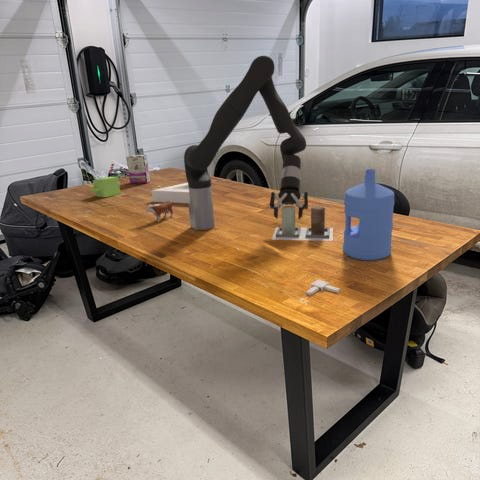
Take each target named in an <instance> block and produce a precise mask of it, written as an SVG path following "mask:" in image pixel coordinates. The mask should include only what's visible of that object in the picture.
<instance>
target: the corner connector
mask: <svg viewBox="0 0 480 480" xmlns="http://www.w3.org/2000/svg"><path fill="white" fill-rule="evenodd" d="M324 290H325V291H327V292H328V291H329V292H330V293H331V292H332V293H336V294H339V293H340V292H341V291H340V288H339V287H335V286H332V285H330V282H328V281H324V280H321V279H316V280H315V281H313V282H312V283H311V284H310V289H308V290H306V295H308V296H312V295H315V294H316V293H318V291H322V292H323V291H324Z"/></svg>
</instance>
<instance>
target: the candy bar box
mask: <svg viewBox="0 0 480 480" xmlns="http://www.w3.org/2000/svg"><path fill="white" fill-rule="evenodd" d="M126 164H127V171H128V176H129V177H128V178H129V184H131V185H132V184H133V185H134V184H135V185H137V184H139V185H140V184H148V183H150V182H151V179H150V172H149V171H150V170H149V163H148V156H147V154H133V155H130V154H129V155H127V156H126Z"/></svg>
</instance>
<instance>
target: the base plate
mask: <svg viewBox="0 0 480 480" xmlns="http://www.w3.org/2000/svg"><path fill="white" fill-rule="evenodd" d="M333 239H334V227H325V234H324V235H314V234H311V226H310V227H309V226H307V227H303V226H302V227H301V226H300V227H299V226H295V234H282V226H276V228H275V230H274V232H273V235H272V238H271V240H272V241H273V240H274V241H276V240H278V241H316V242H317V241H320V242H321V241H322V242H333Z"/></svg>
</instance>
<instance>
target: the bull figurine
mask: <svg viewBox="0 0 480 480" xmlns="http://www.w3.org/2000/svg"><path fill="white" fill-rule="evenodd" d="M172 208H173V203H171V202H170V201H167V202H161V203H157V204H156V203H155V204H151V203H149V204H148V205H147V208H146V209H145V211H146V212H147V213H148V212H149V213H152V215H154V216H155V217H156V221H157V223H160V222H161V219H160V218H161V216H162V215H163V218H166V217H167V214H169V212H170V218H173V216H174V215H173V212H174V211H173V209H172Z"/></svg>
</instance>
